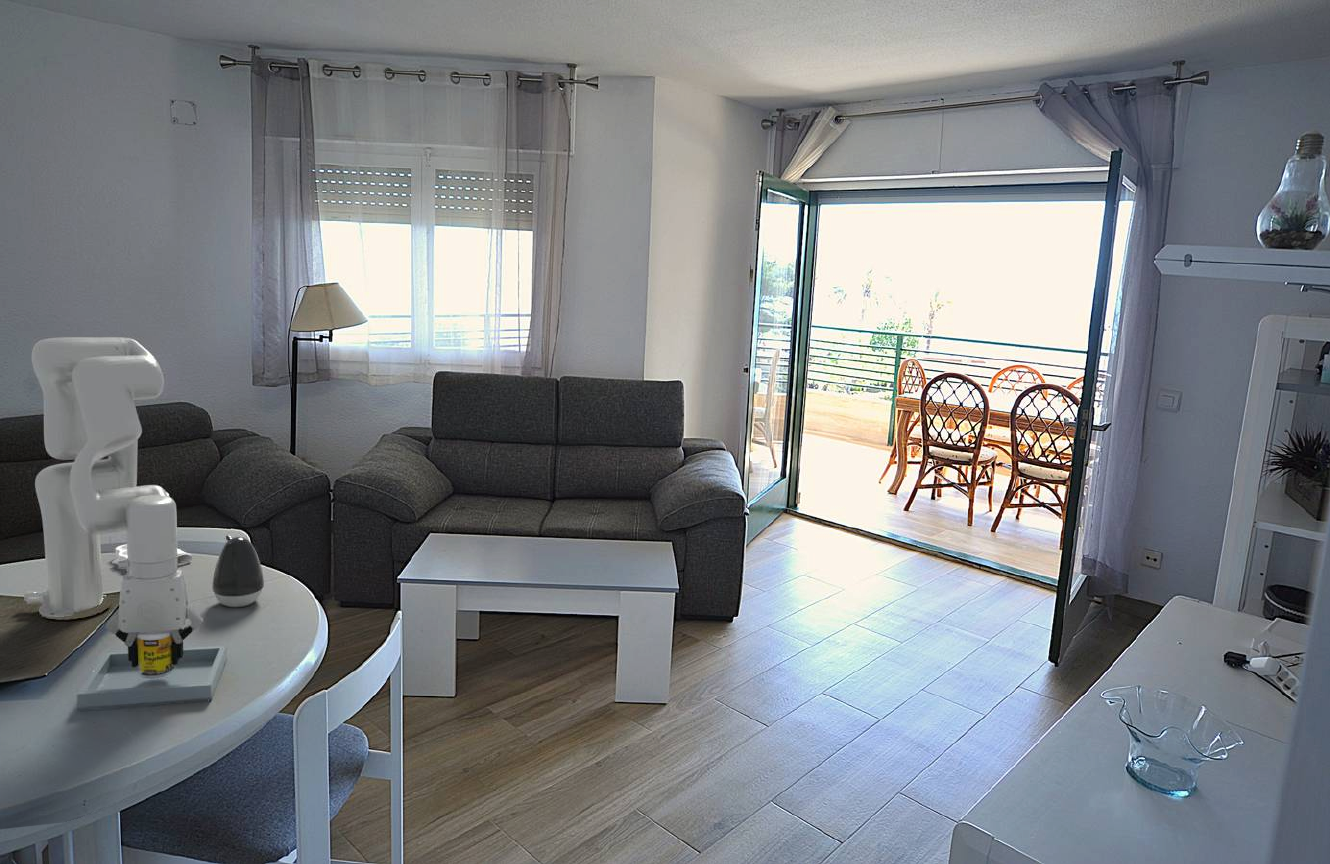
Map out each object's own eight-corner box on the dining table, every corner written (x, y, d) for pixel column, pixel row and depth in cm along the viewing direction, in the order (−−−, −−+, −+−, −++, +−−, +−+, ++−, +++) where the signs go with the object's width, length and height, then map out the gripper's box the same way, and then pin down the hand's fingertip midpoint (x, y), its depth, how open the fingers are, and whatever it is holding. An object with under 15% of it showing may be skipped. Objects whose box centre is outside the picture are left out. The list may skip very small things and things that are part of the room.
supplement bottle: (139, 682, 150) (137, 627, 148) (137, 668, 155) (135, 615, 153) (176, 676, 153) (174, 622, 151) (173, 663, 158) (171, 610, 156)
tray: (78, 710, 144) (77, 694, 143) (106, 667, 159) (105, 652, 158) (211, 700, 150) (211, 685, 149) (226, 660, 165) (226, 645, 164)
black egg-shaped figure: (251, 590, 198) (250, 527, 196) (272, 604, 192) (271, 539, 189) (204, 600, 191) (203, 535, 188) (224, 615, 184) (223, 548, 181)
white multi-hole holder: (199, 567, 211) (136, 582, 199) (162, 549, 221) (99, 562, 209) (199, 554, 210) (135, 568, 198) (161, 536, 220) (98, 549, 208)
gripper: (89, 576, 144) (94, 676, 147) (204, 572, 150) (206, 668, 153) (102, 560, 151) (107, 656, 154) (211, 557, 157) (213, 650, 160)
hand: (156, 661), depth 154 cm, fingers closed on supplement bottle, 5 cm apart
